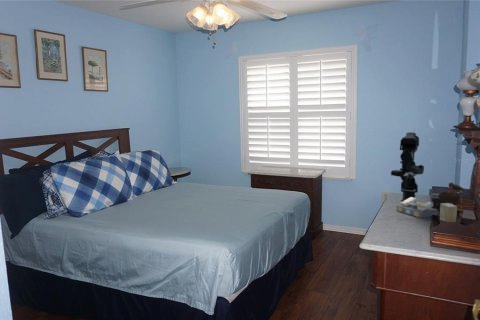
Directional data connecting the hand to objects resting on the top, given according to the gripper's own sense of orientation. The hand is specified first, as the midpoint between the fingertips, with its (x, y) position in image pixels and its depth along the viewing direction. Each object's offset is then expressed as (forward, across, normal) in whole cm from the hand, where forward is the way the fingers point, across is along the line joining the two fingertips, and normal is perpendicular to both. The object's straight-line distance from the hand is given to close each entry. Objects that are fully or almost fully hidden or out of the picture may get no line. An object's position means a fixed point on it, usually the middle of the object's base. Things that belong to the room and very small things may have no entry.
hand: (406, 187), depth 204 cm
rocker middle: (+8, -2, -9) cm, 12 cm away
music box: (+13, 0, -26) cm, 29 cm away
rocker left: (+8, -2, -4) cm, 9 cm away
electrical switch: (+13, +14, -11) cm, 22 cm away
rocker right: (+8, -2, -14) cm, 16 cm away
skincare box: (+13, -13, -36) cm, 40 cm away
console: (+12, -2, -9) cm, 16 cm away
